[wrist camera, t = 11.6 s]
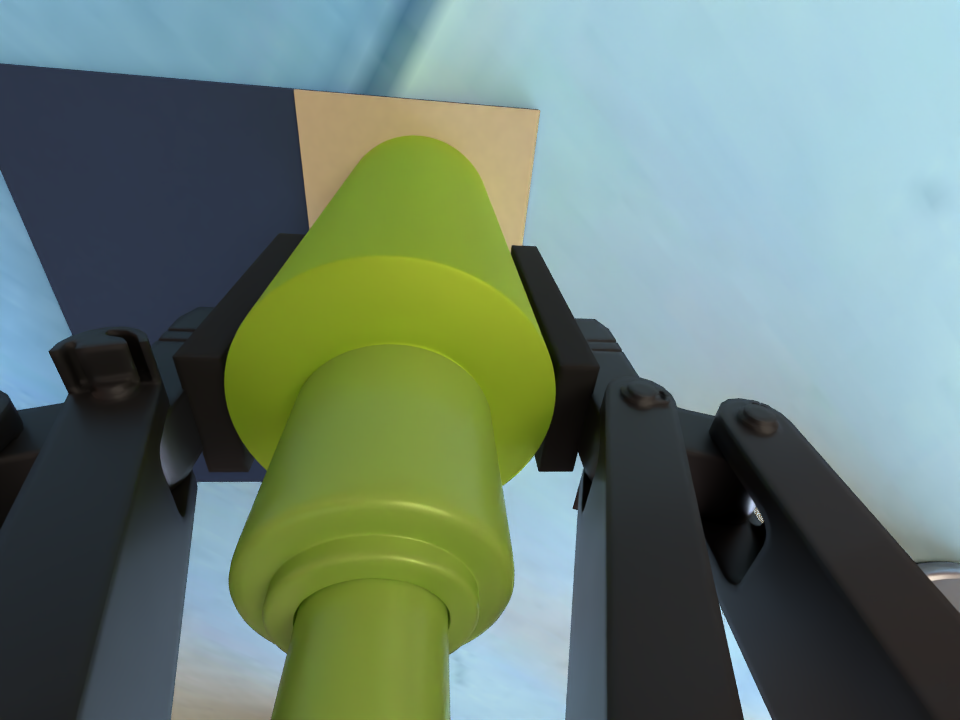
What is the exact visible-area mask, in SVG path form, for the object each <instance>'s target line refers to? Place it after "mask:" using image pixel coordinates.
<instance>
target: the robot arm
mask: <svg viewBox="0 0 960 720" xmlns="http://www.w3.org/2000/svg"><path fill="white" fill-rule="evenodd" d="M305 235H306V234H287V233H279V234H278V235H277V236H276V237H275V238H274V240H273V241H272V242H271V243H270V244H269V245H268V246H267V248H266V249H265V250H264V251H263V252H262V253H261V255H260V256H259V257H258V258H257V259H256V260H255V261H254V263H253V264H252V265H251V266H250V267H249V268H248V270H247V271H246V272H245V273H244V274H243V275H242V276H241V278H240V279H239V280H238V281H237V282H236V283H235V285H234V286H233V287H232V288H231V289H230V290H229V292H228V293H227V294H226V295H225V296H224V297H223V298H222V300H221V301H220V302H219V303H218V304H217V305H216V307H198V308H196V309H194V310H192V311H190V312H188V313H186V314H184V315H182V316H180V317H179V318H178V319H177V320H176V321H175V322H174V323H173V324H172V325H171V326H170V327H169V328H168V331H165V332H164V333H163V334H162V335H161V336H160V338H159V341H156V342H155V343H154V344H153V345H152V346H151V345H150V343H149V340H148V337H147V334H146V333H144V332H143V331H141V330H140V329H136V328H131V327H105V328H99V329H93V330H88V331H85V332H82V333H79V334H76V335H72V336H70V337H68V338H66V339H64V340H62V341H60V342H59V343H57V344H56V345H55V346H54V347H53V348H52V349H51V350H49V351H48V352H49V354H50V356H51V358H52V360H53V362H54V364H55V366H56V368H57V370H58V372H59V375H60V377H61V379H62V381H63V383H64V385H65V387H66V389H67V391H68V393H69V394H68V396H67V398H66V400H65V402H64V403H61V404H54V405H48V406H42V407H36V408H29V409H23V410H16V408H15V407H14V405H13V403H12V401H11V400H10V398H9V396H8V395H7V394H6V393H4V392H2V391H0V720H171V712H172V703H173V695H174V686H175V677H176V669H177V660H178V651H179V643H180V634H181V625H182V617H183V608H184V599H185V590H186V582H187V573H188V564H189V556H190V547H191V538H192V530H193V521H194V512H195V504H196V495H197V482H196V477H195V474H194V472H193V469H192V468H193V466H194V464H195V463H196V461H197V459H198V458H199V456H200V454H201V452H202V453H203V456H204V459H205V462H206V465H207V468H208V471H209V472H249V470H250V468H251V466H252V464H253V461H254V459H255V458H254V457H253V456H252V454H251V453H250V452H249V451H248V449H247V448H246V446H245V445H244V444H243V442H242V440H241V439H240V437H239V435H238V433H237V431H236V429H235V427H234V425H233V423H232V420H231V417H230V415H229V411H228V408H227V403H226V398H225V389H224V375H225V365H226V360H227V356H228V352H229V349H230V346H231V343H232V341H233V338H234V336H235V334H236V332H237V330H238V328H239V327H240V325H241V323H242V322H243V320H244V319H245V317H246V316H247V314H248V313H249V312H250V310H251V309H252V308H253V306H254V305H255V304H256V302H257V301H258V299H259V298H260V297H261V295H262V294H263V293H264V291H265V290H266V288H267V287H268V286H269V284H270V283H271V282H272V280H273V279H274V278H275V276H276V275H277V273H278V272H279V271H280V269H281V268H282V267H283V265H284V264H285V262H286V261H287V260H288V258H289V257H290V256H291V254H292V253H293V252H294V250H295V249H296V247H297V246H298V245H299V243H300V242H301V241H302V239H303V238H304V236H305ZM511 256H512V259H513V261H514V264H515V266H516V269H517V272H518V274H519V277H520V279H521V282H522V285H523V287H524V290H525V292H526V295H527V297H528V300H529V303H530V305H531V308H532V310H533V313H534V316H535V318H536V321H537V323H538V326H539V329H540V331H541V334H542V336H543V339H544V341H545V344H546V347H547V349H548V352H549V355H550V358H551V361H552V365H553V370H554V375H555V385H556V396H555V406H554V412H553V416H552V420H551V423H550V426H549V429H548V431H547V434H546V436H545V438H544V440H543V442H542V444H541V445H540V447H539V449H538V450H537V452H536V453H535V459H536V463H537V467H538V471H539V472H572V471H573V469H574V465H575V461H576V457H577V454H578V453H579V456H580V459H581V461H582V464H583V467H584V469H583V473H582V477H581V480H580V484H579V487H578V491H577V495H576V498H575V502H574V506H573V509H576V510H578V516H577V533H576V550H575V566H574V583H573V599H572V616H571V633H570V649H569V666H568V683H567V699H566V716H565V720H744V718H743V713H742V709H741V704H740V699H739V695H738V690H737V685H736V681H735V676H734V671H733V667H732V662H731V658H730V653H729V648H728V644H727V639H726V634H725V630H724V625H723V620H722V616H721V611H720V606H721V609H722V611H723V613H724V615H725V617H726V620H727V622H728V624H729V626H730V628H731V630H732V633H733V635H734V637H735V639H736V641H737V644H738V646H739V648H740V650H741V652H742V655H743V657H744V659H745V661H746V663H747V665H748V668H749V670H750V672H751V674H752V676H753V679H754V681H755V683H756V685H757V687H758V690H759V692H760V694H761V696H762V698H763V700H764V703H765V705H766V707H767V709H768V711H769V714H770V716H771V718H772V720H960V564H958V563H951V562H930V563H921V564H916V563H915V562H914V561H913V560H912V558H911V557H910V556H909V555H908V554H907V553H906V552H905V550H904V549H903V548H902V547H901V546H900V545H899V544H898V543H897V541H896V540H895V539H894V538H893V537H892V536H891V535H890V533H889V532H888V531H887V530H886V529H885V528H884V527H883V526H882V524H881V523H880V522H879V521H878V520H877V519H876V518H875V516H874V515H873V514H872V513H871V512H870V511H869V510H868V509H867V507H866V506H865V505H864V504H863V503H862V502H861V501H860V499H859V498H858V497H857V496H856V495H855V494H854V493H853V492H852V490H851V489H850V488H849V487H848V486H847V485H846V484H845V482H844V481H843V480H842V479H841V478H840V477H839V476H838V475H837V473H836V472H835V471H834V470H833V469H832V468H831V467H830V465H829V464H828V463H827V462H826V461H825V460H824V459H823V458H822V456H821V455H820V454H819V453H818V452H817V451H816V450H815V448H814V447H813V446H812V445H811V444H810V443H809V442H808V441H807V439H806V438H805V437H804V436H803V435H802V434H801V433H800V431H799V430H798V429H797V428H796V427H795V426H794V425H793V424H792V422H791V421H789V420H788V419H787V418H786V417H785V416H784V415H783V414H781V413H780V412H778V411H776V410H774V409H773V408H771V407H770V406H768V405H766V404H763V403H759V402H758V401H754V400H747V399H740V398H738V399H728V400H726V401H724V402H722V403H721V404H720V406H719V409H718V411H717V413H716V415H715V416H712V415H708V414H703V413H698V412H694V411H689V410H685V409H682V408H678V407H677V406H676V402H675V400H674V398H673V396H672V395H671V394H670V393H669V392H668V391H667V390H666V389H665V388H664V387H662V386H660V385H658V384H656V383H654V382H652V381H650V380H647V379H643V378H640V377H639V376H638V374H637V373H636V371H635V370H634V368H633V367H632V365H631V363H630V362H629V360H628V359H627V357H626V355H625V354H624V352H622V349H621V348H620V346H619V344H618V343H616V340H615V338H614V337H613V335H612V333H611V332H610V330H609V329H608V328H606V327H605V326H604V325H602V324H601V323H600V322H598V321H597V320H595V319H576V318H574V317H573V315H572V313H571V311H570V309H569V307H568V305H567V303H566V301H565V300H564V298H563V296H562V294H561V292H560V290H559V288H558V286H557V284H556V283H555V281H554V279H553V277H552V275H551V273H550V271H549V269H548V268H547V266H546V264H545V262H544V260H543V258H542V256H541V254H540V252H539V251H538V249H537V247H536V246H518V245H512V246H511ZM755 507H757V508H758V510H759V512H760V513H761V515H762V517H763V520H764V522H763V523H761V522H760V521H759V520H758V518H757V516H756V515H755V513H754V512H753V511H754V509H755ZM719 604H720V606H719Z"/></svg>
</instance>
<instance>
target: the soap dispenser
mask: <svg viewBox="0 0 960 720" xmlns="http://www.w3.org/2000/svg"><path fill="white" fill-rule="evenodd" d="M224 389H225V398H226V403H227V408H228V411H229V415H230V417H231V420H232V423H233V425H234V427H235V429H236V431H237V433H238V435H239V437H240V439H241V440H242V442H243V444H244V445H245V446H246V448H247V449H248V451H249V452H250V453H251V454H252V456H253V457H254V458H255V459H256V460H257V461H258V462H259V463H260V465H261V466H262V467H264V468H265V469H266V470H267V472H266V474H265V477H264V479H263V482H262V484H261V487H260V489H259V491H258V494H257V496H256V499H255V501H254V504H253V506H252V509H251V511H250V514H249V516H248V518H247V521H246V523H245V526H244V528H243V531H242V533H241V536H240V538H239V541H238V544H237V546H236V549H235V552H234V555H233V557H232V561H231V566H230V572H229V590H230V595H231V598H232V600H233V603H234V605H235V607H236V609H237V611H238V612H239V614H240V615H241V617H242V618H243V619H244V621H245V622H246V623H247V624H248V625H249V626H250V627H251V628H252V629H253V630H255V631H256V632H257V633H258V634H260V635H261V636H262V637H264V638H265V639H267V640H268V641H270V642H272V643H274V644H276V645H277V646H278V647H279V648H280V649H281V650H282V651H284V652H285V653H286V654H287V656H286V660H285V664H284V668H283V672H282V676H281V681H280V685H279V689H278V693H277V697H276V701H275V705H274V709H273V713H272V717H271V720H450V688H449V654H451V653H453V652H454V651H455V650H457V649H458V648H459V647H460V646H462V645H464V644H466V643H468V642H470V641H471V640H473V639H475V638H476V637H478V636H479V635H481V634H482V633H483V632H485V631H486V630H487V629H488V628H489V627H490V626H491V625H493V623H494V622H495V621H496V620H497V619H498V618H499V617H500V615H501V614H502V612H503V611H504V609H505V608H506V606H507V604H508V602H509V600H510V598H511V595H512V592H513V587H514V561H513V552H512V546H511V539H510V533H509V527H508V520H507V514H506V508H505V501H504V495H503V489H502V486H503V485H504V484H506V483H507V482H508V481H510V480H511V479H512V478H513V477H514V476H516V475H517V474H518V473H519V472H520V471H521V470H522V469H523V468H524V467H525V466H526V464H527V463H528V462H529V461H530V460H531V458H532V457H533V456H534V455H535V453H536V452H537V450H538V449H539V447H540V445H541V444H542V442H543V440H544V438H545V436H546V434H547V431H548V429H549V426H550V423H551V420H552V416H553V412H554V406H555V396H556V385H555V375H554V370H553V365H552V361H551V358H550V355H549V352H548V349H547V347H546V344H545V341H544V339H543V336H542V334H541V331H540V329H539V326H538V323H537V321H536V318H535V316H534V313H533V310H532V308H531V305H530V303H529V300H528V297H527V295H526V292H525V290H524V287H523V285H522V282H521V279H520V277H519V274H518V272H517V269H516V266H515V264H514V261H513V259H512V256H511V254H510V251H509V248H508V246H507V243H506V241H505V238H504V235H503V233H502V230H501V228H500V225H499V222H498V220H497V217H496V215H495V212H494V210H493V207H492V204H491V202H490V199H489V197H488V194H487V191H486V189H485V186H484V184H483V181H482V179H481V177H480V175H479V173H478V172H477V170H476V169H475V167H474V166H473V165H472V163H471V162H470V161H469V160H468V159H467V158H466V157H465V156H464V155H463V154H462V153H460V152H459V151H458V150H457V149H455V148H454V147H452V146H450V145H449V144H447V143H445V142H442V141H440V140H437V139H434V138H430V137H426V136H416V135H411V136H401V137H396V138H393V139H390V140H387V141H385V142H383V143H381V144H379V145H377V146H376V147H374V148H373V149H371V150H370V151H369V152H368V153H367V154H366V155H365V156H364V157H363V158H362V159H361V160H360V161H359V163H358V164H357V165H356V167H355V168H354V169H353V171H352V172H351V173H350V175H349V176H348V178H347V179H346V180H345V182H344V183H343V184H342V186H341V187H340V189H339V190H338V191H337V193H336V194H335V195H334V197H333V198H332V199H331V201H330V202H329V204H328V205H327V206H326V208H325V209H324V210H323V212H322V213H321V215H320V216H319V217H318V219H317V220H316V221H315V223H314V224H313V225H312V227H311V228H310V230H309V231H308V232H307V234H306V235H305V236H304V238H303V239H302V241H301V242H300V243H299V245H298V246H297V247H296V249H295V250H294V252H293V253H292V254H291V256H290V257H289V258H288V260H287V261H286V262H285V264H284V265H283V267H282V268H281V269H280V271H279V272H278V273H277V275H276V276H275V278H274V279H273V280H272V282H271V283H270V284H269V286H268V287H267V288H266V290H265V291H264V293H263V294H262V295H261V297H260V298H259V299H258V301H257V302H256V304H255V305H254V306H253V308H252V309H251V310H250V312H249V313H248V314H247V316H246V317H245V319H244V320H243V322H242V323H241V325H240V327H239V328H238V330H237V332H236V334H235V336H234V338H233V341H232V343H231V346H230V349H229V352H228V356H227V360H226V365H225V375H224Z"/></svg>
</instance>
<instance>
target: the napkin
mask: <svg viewBox="0 0 960 720" xmlns="http://www.w3.org/2000/svg"><path fill="white" fill-rule="evenodd" d="M539 116H540V110H538V109H526V108H514V107H503V106H491V105H479V104H468V103H456V102H444V101H433V100H421V99H409V98H398V97H386V96H374V95H363V94H351V93H339V92H328V91H316V90H304V89H292V88H281V87H269V86H257V85H246V84H234V83H222V82H211V81H199V80H187V79H176V78H164V77H152V76H141V75H129V74H117V73H106V72H94V71H82V70H71V69H59V68H47V67H36V66H24V65H12V64H1V63H0V170H1V172H2V174H3V177H4V179H5V181H6V184H7V186H8V188H9V191H10V193H11V195H12V197H13V200H14V202H15V204H16V207H17V209H18V211H19V213H20V216H21V218H22V220H23V223H24V225H25V227H26V230H27V232H28V234H29V236H30V239H31V241H32V243H33V246H34V248H35V250H36V252H37V255H38V257H39V259H40V262H41V264H42V266H43V269H44V271H45V273H46V275H47V278H48V280H49V282H50V285H51V287H52V289H53V292H54V294H55V296H56V298H57V301H58V303H59V305H60V308H61V310H62V312H63V314H64V317H65V319H66V321H67V324H68V326H69V328H70V331H71V333H72V335H76V334H79V333H82V332H85V331H88V330H93V329H99V328H105V327H131V328H136V329H140V330H141V331H143V332H144V333H146V334H147V337H148V340H149V343H150V345H151V346H152V345H153V344H154V343H155V342H156V341H159V338H160V336H161V335H162V334H163V333H164V332H165V331H168V328H169V327H170V326H171V325H172V324H173V323H174V322H175V321H176V320H177V319H178V318H179V317H180V316H182V315H184V314H186V313H188V312H190V311H192V310H194V309H196V308H198V307H216V305H217V304H218V303H219V302H220V301H221V300H222V298H223V297H224V296H225V295H226V294H227V293H228V292H229V290H230V289H231V288H232V287H233V286H234V285H235V283H236V282H237V281H238V280H239V279H240V278H241V276H242V275H243V274H244V273H245V272H246V271H247V270H248V268H249V267H250V266H251V265H252V264H253V263H254V261H255V260H256V259H257V258H258V257H259V256H260V255H261V253H262V252H263V251H264V250H265V249H266V248H267V246H268V245H269V244H270V243H271V242H272V241H273V240H274V238H275V237H276V236H277V235H278V234H279V233H287V234H307V232H308V231H309V230H310V228H311V227H312V225H313V224H314V223H315V221H316V220H317V219H318V217H319V216H320V215H321V213H322V212H323V210H324V209H325V208H326V206H327V205H328V204H329V202H330V201H331V199H332V198H333V197H334V195H335V194H336V193H337V191H338V190H339V189H340V187H341V186H342V184H343V183H344V182H345V180H346V179H347V178H348V176H349V175H350V173H351V172H352V171H353V169H354V168H355V167H356V165H357V164H358V163H359V161H360V160H361V159H362V158H363V157H364V156H365V155H366V154H367V153H368V152H369V151H370V150H371V149H373V148H374V147H376V146H377V145H379V144H381V143H383V142H385V141H387V140H390V139H393V138H396V137H401V136H411V135H416V136H426V137H430V138H434V139H437V140H440V141H442V142H445V143H447V144H449V145H450V146H452V147H454V148H455V149H457V150H458V151H459V152H460V153H462V154H463V155H464V156H465V157H466V158H467V159H468V160H469V161H470V162H471V163H472V165H473V166H474V167H475V169H476V170H477V172H478V173H479V175H480V177H481V179H482V181H483V184H484V186H485V189H486V191H487V194H488V197H489V199H490V202H491V204H492V207H493V210H494V212H495V215H496V217H497V220H498V222H499V225H500V228H501V230H502V233H503V235H504V238H505V241H506V243H507V246H508V248H509V251H510V254H511V246H512V245H518V246H522V244H523V236H524V229H525V221H526V214H527V206H528V199H529V191H530V183H531V176H532V168H533V161H534V153H535V146H536V138H537V131H538V123H539ZM192 469H193V472H194V474H195V477H196V482H263V479H264V477H265V474H266V472H267V470H266V469H265V468H264V467H262V466H261V465H260V463H259V462H258V461H257V460H256V459H254V461H253V464H252V466H251V468H250V470H249V472H209V471H208V468H207V465H206V462H205V459H204V456H203V453H202V452H201V454H200V456H199V458H198V459H197V461H196V463H195V464H194V466H193V468H192Z"/></svg>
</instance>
